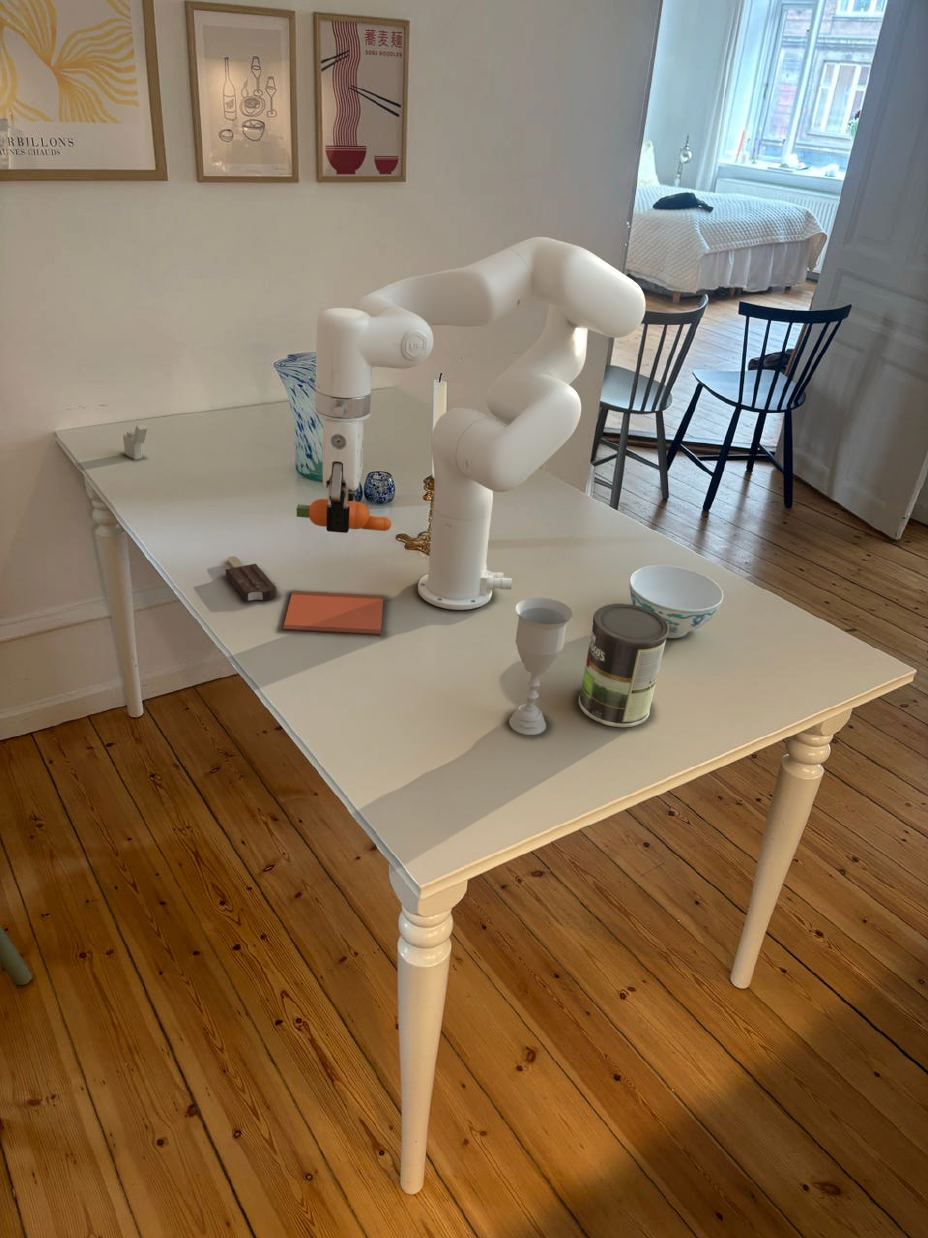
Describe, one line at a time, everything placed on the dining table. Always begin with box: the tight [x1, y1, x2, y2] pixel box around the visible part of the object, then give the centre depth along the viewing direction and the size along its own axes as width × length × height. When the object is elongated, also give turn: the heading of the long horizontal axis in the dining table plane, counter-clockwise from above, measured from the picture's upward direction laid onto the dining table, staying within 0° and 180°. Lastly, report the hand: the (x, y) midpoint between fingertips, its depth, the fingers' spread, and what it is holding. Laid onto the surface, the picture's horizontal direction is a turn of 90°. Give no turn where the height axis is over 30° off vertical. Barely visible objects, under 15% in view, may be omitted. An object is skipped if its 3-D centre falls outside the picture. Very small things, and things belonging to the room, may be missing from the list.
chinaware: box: [629, 564, 724, 639], centre depth 152 cm, size 15×15×8 cm
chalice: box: [508, 597, 573, 736], centre depth 123 cm, size 7×7×18 cm
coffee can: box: [578, 603, 669, 728], centre depth 129 cm, size 10×10×14 cm
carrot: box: [296, 498, 392, 532], centre depth 136 cm, size 14×4×4 cm, turn 90°
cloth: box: [282, 590, 384, 636], centre depth 149 cm, size 15×12×1 cm
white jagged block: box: [122, 423, 148, 461], centre depth 195 cm, size 7×2×8 cm, turn 48°
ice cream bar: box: [225, 555, 277, 602], centre depth 155 cm, size 5×2×15 cm
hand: (339, 523), depth 137 cm, fingers closed on carrot, 4 cm apart
